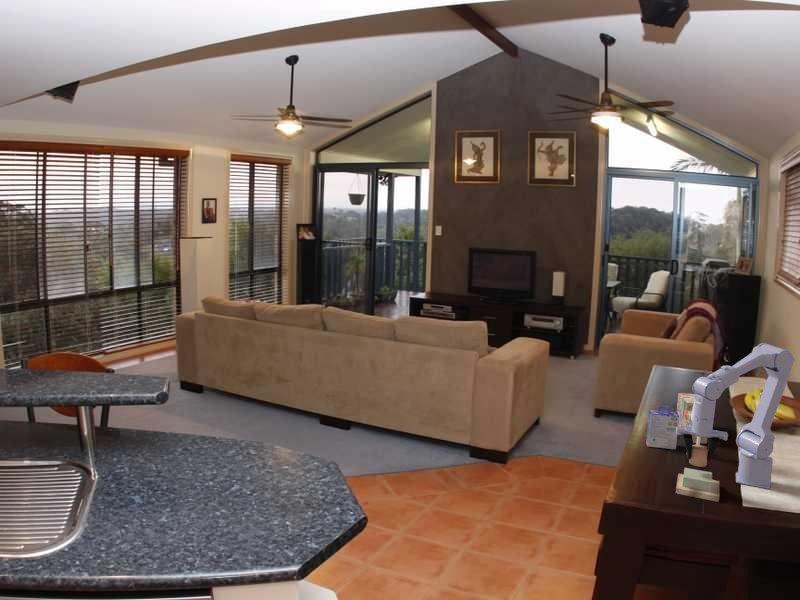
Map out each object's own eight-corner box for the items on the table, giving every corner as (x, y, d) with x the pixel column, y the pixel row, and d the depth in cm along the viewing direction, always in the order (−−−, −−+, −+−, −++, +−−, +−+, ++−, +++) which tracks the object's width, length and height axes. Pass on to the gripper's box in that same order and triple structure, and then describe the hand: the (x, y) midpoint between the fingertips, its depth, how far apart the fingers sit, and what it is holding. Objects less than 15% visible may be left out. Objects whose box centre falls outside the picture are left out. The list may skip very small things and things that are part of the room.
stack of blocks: (707, 444, 261) (711, 411, 259) (689, 443, 262) (693, 410, 260) (691, 423, 282) (695, 393, 280) (674, 422, 283) (678, 392, 281)
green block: (711, 481, 225) (712, 472, 225) (710, 491, 218) (711, 482, 218) (683, 476, 228) (684, 467, 228) (682, 486, 221) (683, 477, 221)
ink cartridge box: (674, 444, 260) (678, 405, 257) (676, 450, 254) (681, 410, 252) (645, 441, 262) (649, 402, 259) (647, 447, 256) (651, 407, 254)
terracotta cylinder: (704, 460, 225) (706, 445, 224) (708, 467, 220) (710, 451, 220) (687, 459, 226) (689, 444, 225) (691, 465, 221) (693, 450, 220)
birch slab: (718, 488, 227) (719, 481, 226) (718, 504, 216) (719, 496, 215) (677, 480, 231) (678, 473, 231) (675, 495, 220) (676, 488, 220)
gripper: (726, 415, 223) (720, 456, 225) (676, 410, 226) (671, 451, 228) (731, 422, 216) (725, 465, 218) (679, 417, 219) (675, 460, 221)
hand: (698, 459), depth 223 cm, fingers closed on terracotta cylinder, 5 cm apart
